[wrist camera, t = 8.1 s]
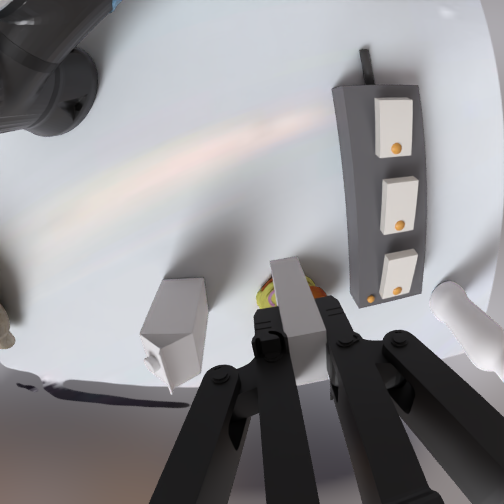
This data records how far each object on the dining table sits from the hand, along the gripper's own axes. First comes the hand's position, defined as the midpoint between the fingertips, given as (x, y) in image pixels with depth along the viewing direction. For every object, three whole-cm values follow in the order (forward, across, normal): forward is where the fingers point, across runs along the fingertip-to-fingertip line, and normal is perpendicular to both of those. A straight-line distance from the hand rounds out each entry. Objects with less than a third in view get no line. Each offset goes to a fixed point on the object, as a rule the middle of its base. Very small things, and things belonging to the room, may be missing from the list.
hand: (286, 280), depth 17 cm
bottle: (+31, +34, -28) cm, 54 cm away
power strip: (+30, +19, -2) cm, 36 cm away
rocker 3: (+24, +19, -16) cm, 34 cm away
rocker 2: (+24, +19, -5) cm, 31 cm away
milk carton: (+31, -15, -17) cm, 38 cm away
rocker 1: (+24, +19, +6) cm, 31 cm away
